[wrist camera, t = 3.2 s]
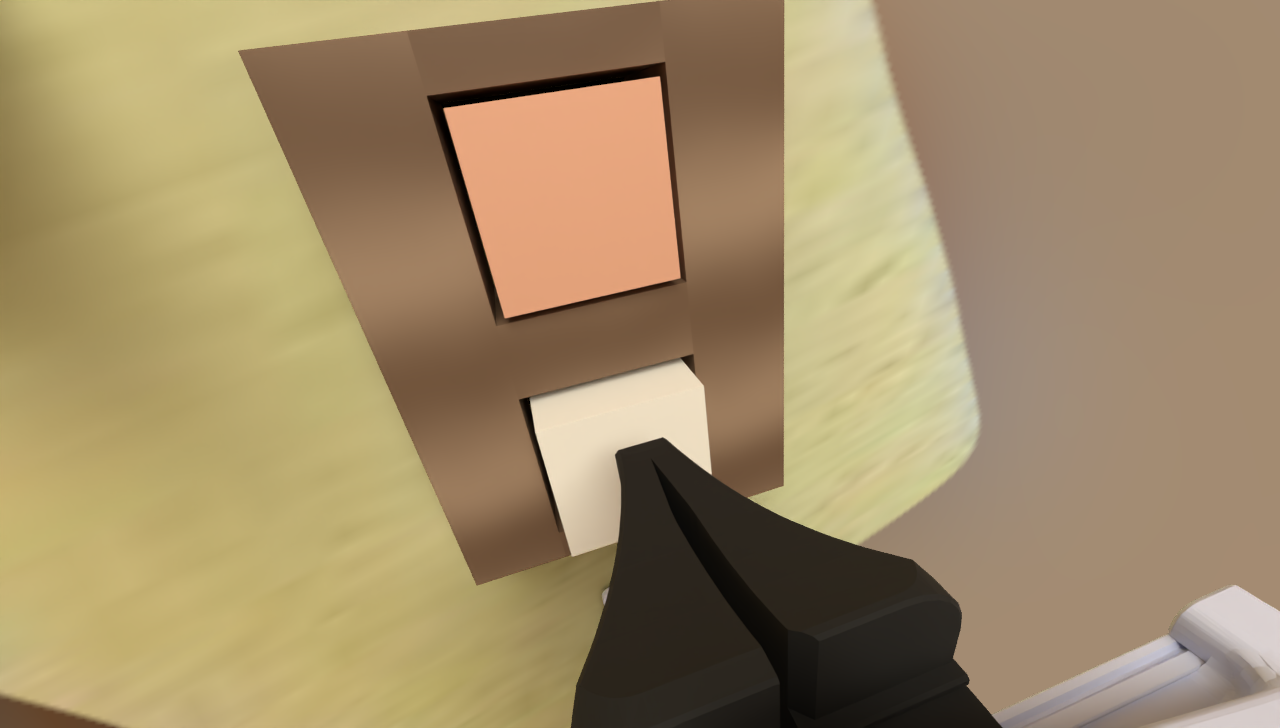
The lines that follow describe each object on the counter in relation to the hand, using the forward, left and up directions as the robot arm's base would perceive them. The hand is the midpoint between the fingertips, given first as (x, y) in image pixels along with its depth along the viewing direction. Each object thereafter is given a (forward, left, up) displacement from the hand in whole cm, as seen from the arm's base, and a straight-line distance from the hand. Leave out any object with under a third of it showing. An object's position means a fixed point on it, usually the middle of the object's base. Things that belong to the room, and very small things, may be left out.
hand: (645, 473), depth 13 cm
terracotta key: (+7, 0, -5) cm, 8 cm away
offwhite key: (-1, 0, -4) cm, 5 cm away
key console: (+3, 0, -7) cm, 8 cm away
